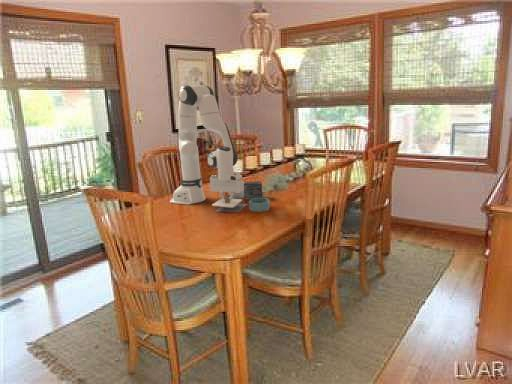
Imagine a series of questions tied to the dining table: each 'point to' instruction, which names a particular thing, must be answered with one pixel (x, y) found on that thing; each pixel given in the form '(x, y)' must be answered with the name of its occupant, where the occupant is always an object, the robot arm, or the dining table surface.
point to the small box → (253, 190)
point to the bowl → (259, 204)
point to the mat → (230, 209)
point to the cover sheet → (227, 202)
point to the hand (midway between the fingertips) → (227, 199)
